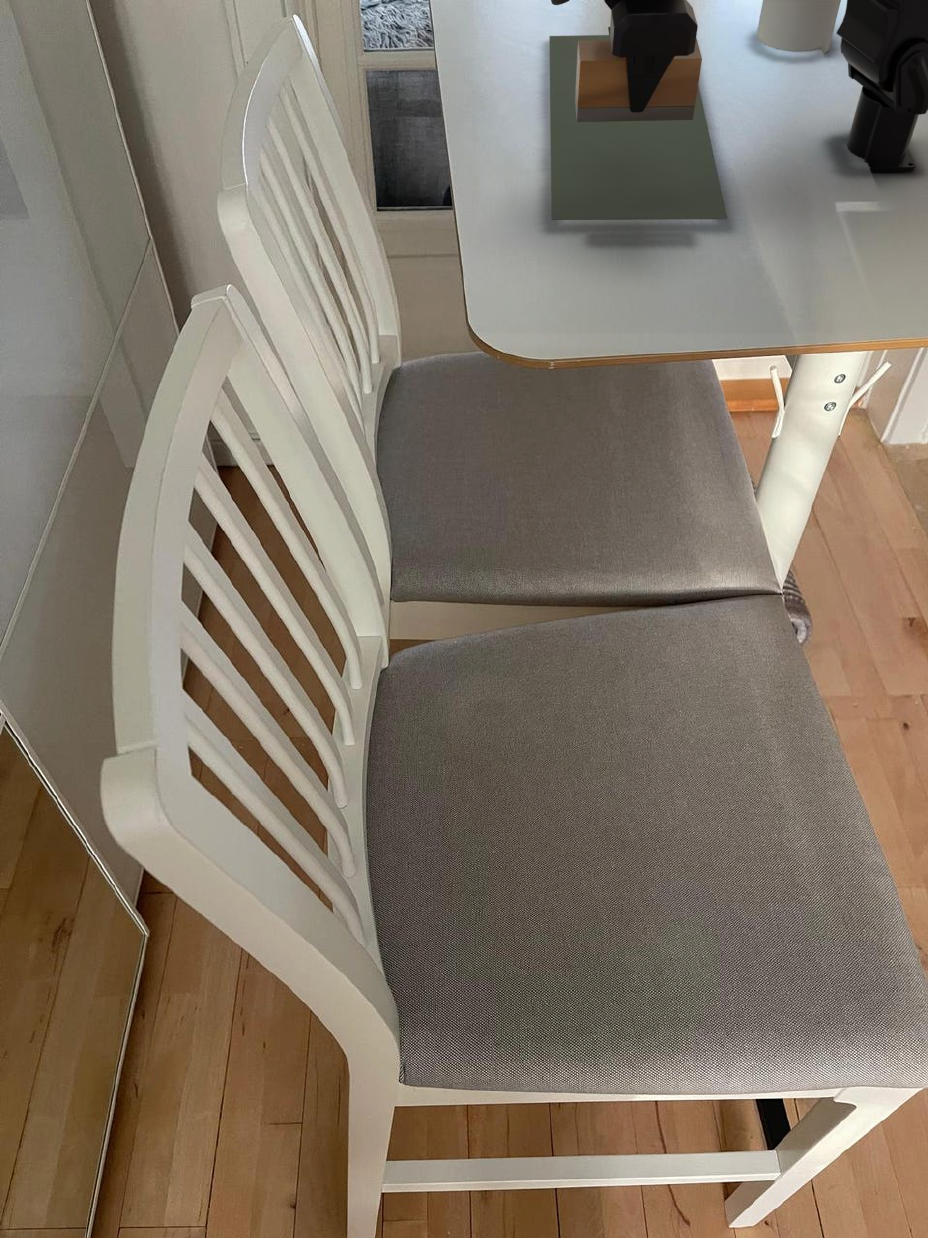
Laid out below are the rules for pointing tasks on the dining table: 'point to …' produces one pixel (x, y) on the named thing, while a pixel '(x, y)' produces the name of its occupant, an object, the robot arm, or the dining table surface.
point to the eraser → (608, 87)
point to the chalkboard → (625, 158)
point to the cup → (798, 24)
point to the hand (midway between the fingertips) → (634, 99)
